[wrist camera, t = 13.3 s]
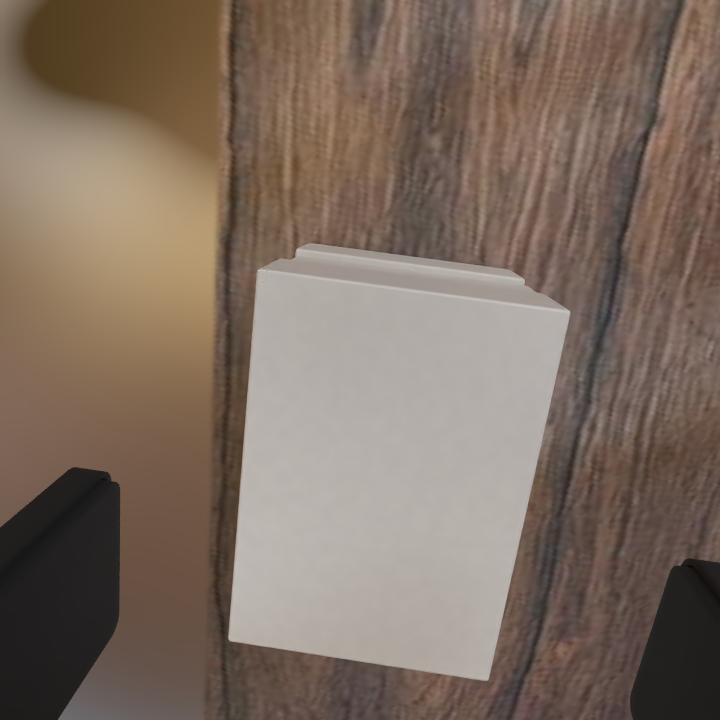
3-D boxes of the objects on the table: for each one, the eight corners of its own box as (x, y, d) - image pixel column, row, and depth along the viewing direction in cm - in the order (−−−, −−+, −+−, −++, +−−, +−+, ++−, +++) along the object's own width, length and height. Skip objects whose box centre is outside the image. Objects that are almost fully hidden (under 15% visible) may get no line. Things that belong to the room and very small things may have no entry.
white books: (308, 242, 20) (279, 255, 16) (514, 269, 20) (549, 291, 15) (281, 506, 23) (249, 587, 18) (463, 533, 23) (479, 622, 18)
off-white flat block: (278, 257, 16) (256, 268, 13) (545, 293, 15) (572, 310, 13) (250, 583, 18) (227, 642, 16) (477, 618, 18) (488, 682, 16)
